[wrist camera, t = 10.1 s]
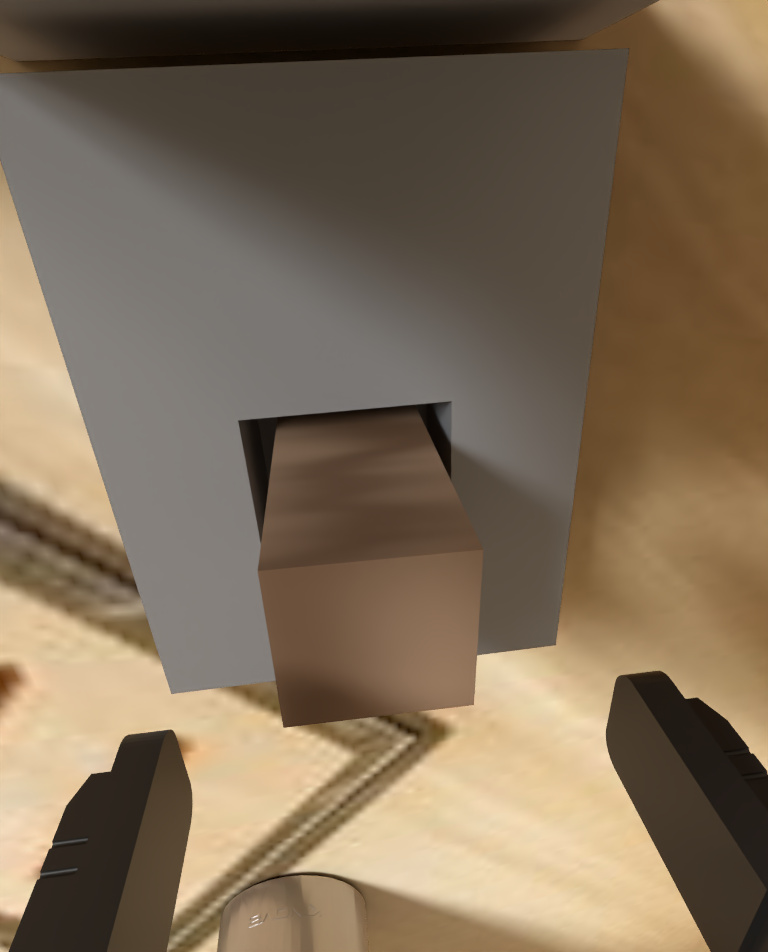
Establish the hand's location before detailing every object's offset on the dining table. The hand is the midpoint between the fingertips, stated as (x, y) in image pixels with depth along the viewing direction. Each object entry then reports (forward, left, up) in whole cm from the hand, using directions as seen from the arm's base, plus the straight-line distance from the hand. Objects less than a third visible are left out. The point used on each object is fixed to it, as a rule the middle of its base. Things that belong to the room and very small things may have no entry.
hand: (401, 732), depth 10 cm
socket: (+2, 0, -13) cm, 13 cm away
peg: (0, 0, -12) cm, 12 cm away
